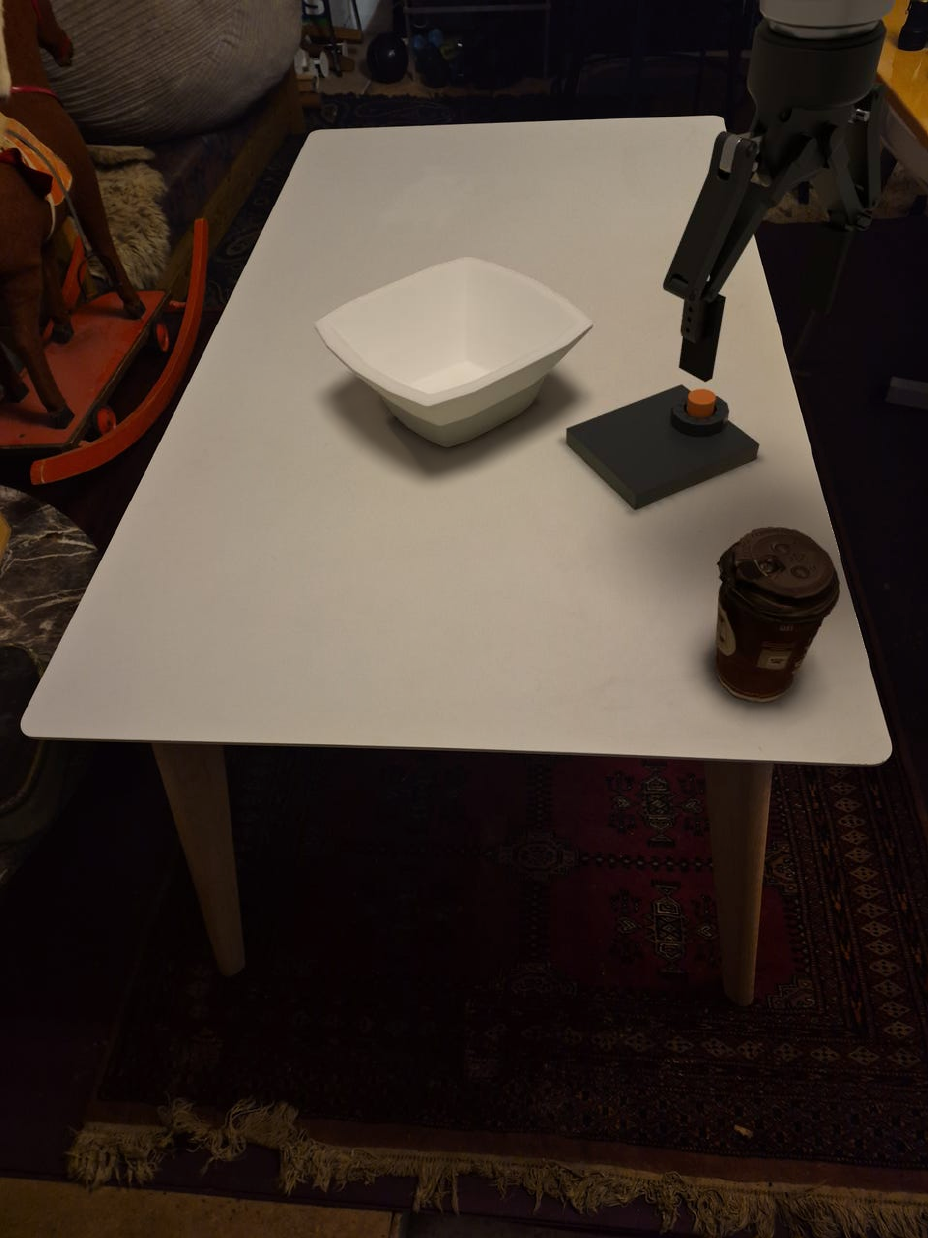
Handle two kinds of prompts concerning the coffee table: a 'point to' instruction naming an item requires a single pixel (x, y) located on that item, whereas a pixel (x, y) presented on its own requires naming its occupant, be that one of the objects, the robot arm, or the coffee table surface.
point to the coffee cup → (770, 609)
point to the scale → (660, 446)
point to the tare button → (701, 403)
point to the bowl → (455, 345)
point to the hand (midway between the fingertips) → (756, 339)
